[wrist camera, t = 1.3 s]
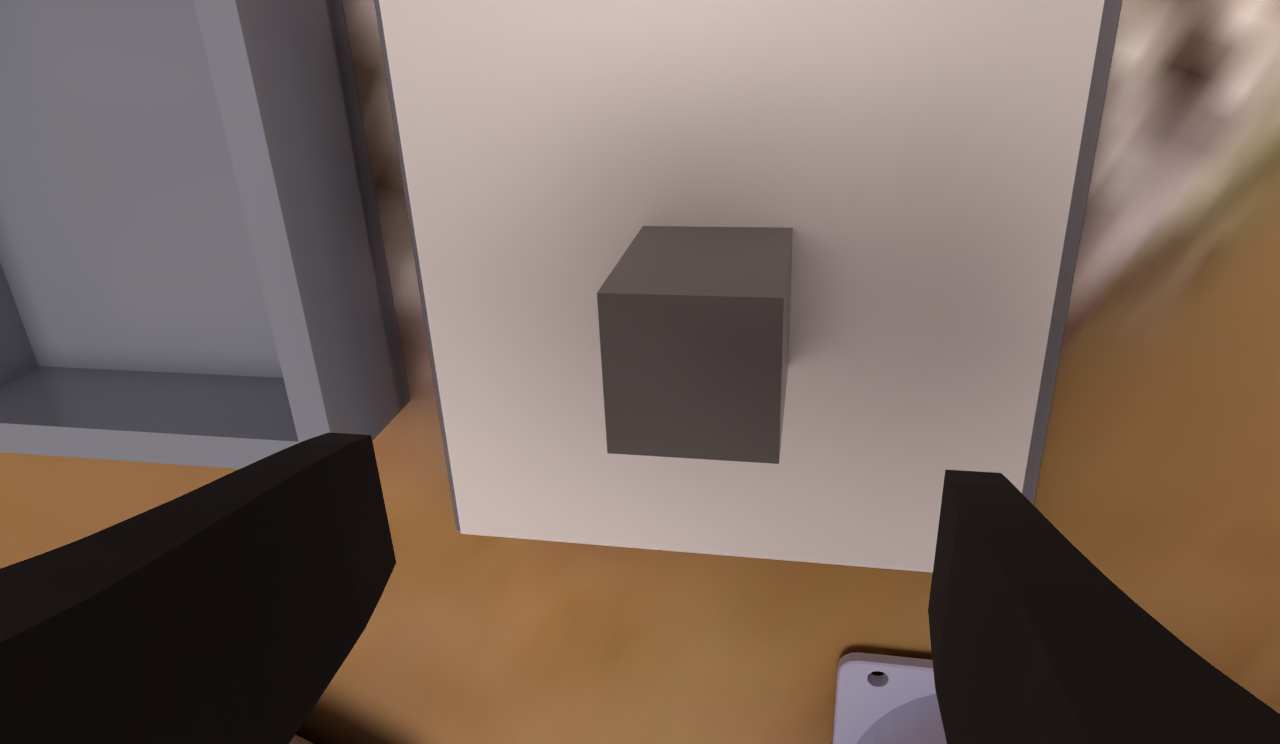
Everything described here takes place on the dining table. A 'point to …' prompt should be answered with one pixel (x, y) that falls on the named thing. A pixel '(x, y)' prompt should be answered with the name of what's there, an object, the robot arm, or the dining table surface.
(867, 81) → the lid
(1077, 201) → the mat
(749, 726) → the dining table surface
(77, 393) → the tray
